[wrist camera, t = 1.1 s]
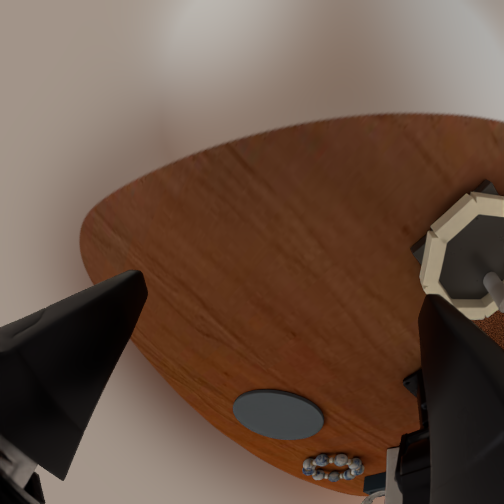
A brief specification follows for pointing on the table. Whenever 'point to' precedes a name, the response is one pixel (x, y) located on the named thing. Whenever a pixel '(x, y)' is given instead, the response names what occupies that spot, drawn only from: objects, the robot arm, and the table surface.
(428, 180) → the table surface
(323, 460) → the bracelet
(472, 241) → the peg stand
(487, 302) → the ring
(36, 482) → the robot arm
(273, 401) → the felt pad
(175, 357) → the table surface
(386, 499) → the small box
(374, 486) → the watch
